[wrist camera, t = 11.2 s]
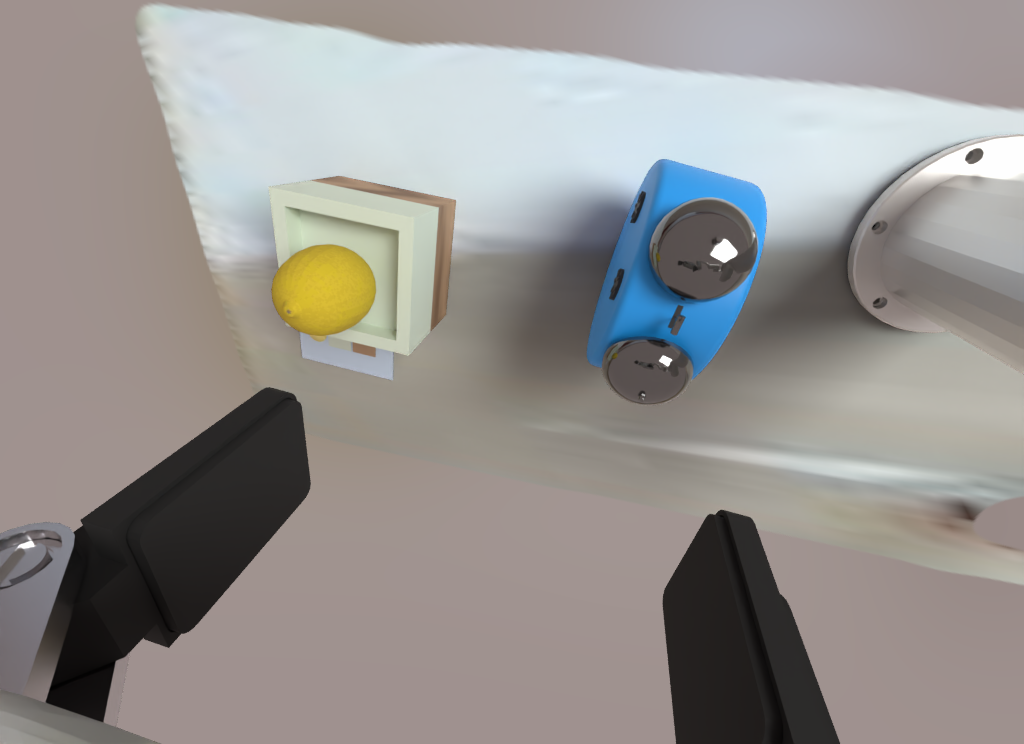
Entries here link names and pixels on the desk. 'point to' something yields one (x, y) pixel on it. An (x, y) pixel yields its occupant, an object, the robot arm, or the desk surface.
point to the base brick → (443, 232)
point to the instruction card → (348, 355)
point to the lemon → (323, 290)
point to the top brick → (367, 253)
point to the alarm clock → (676, 280)
